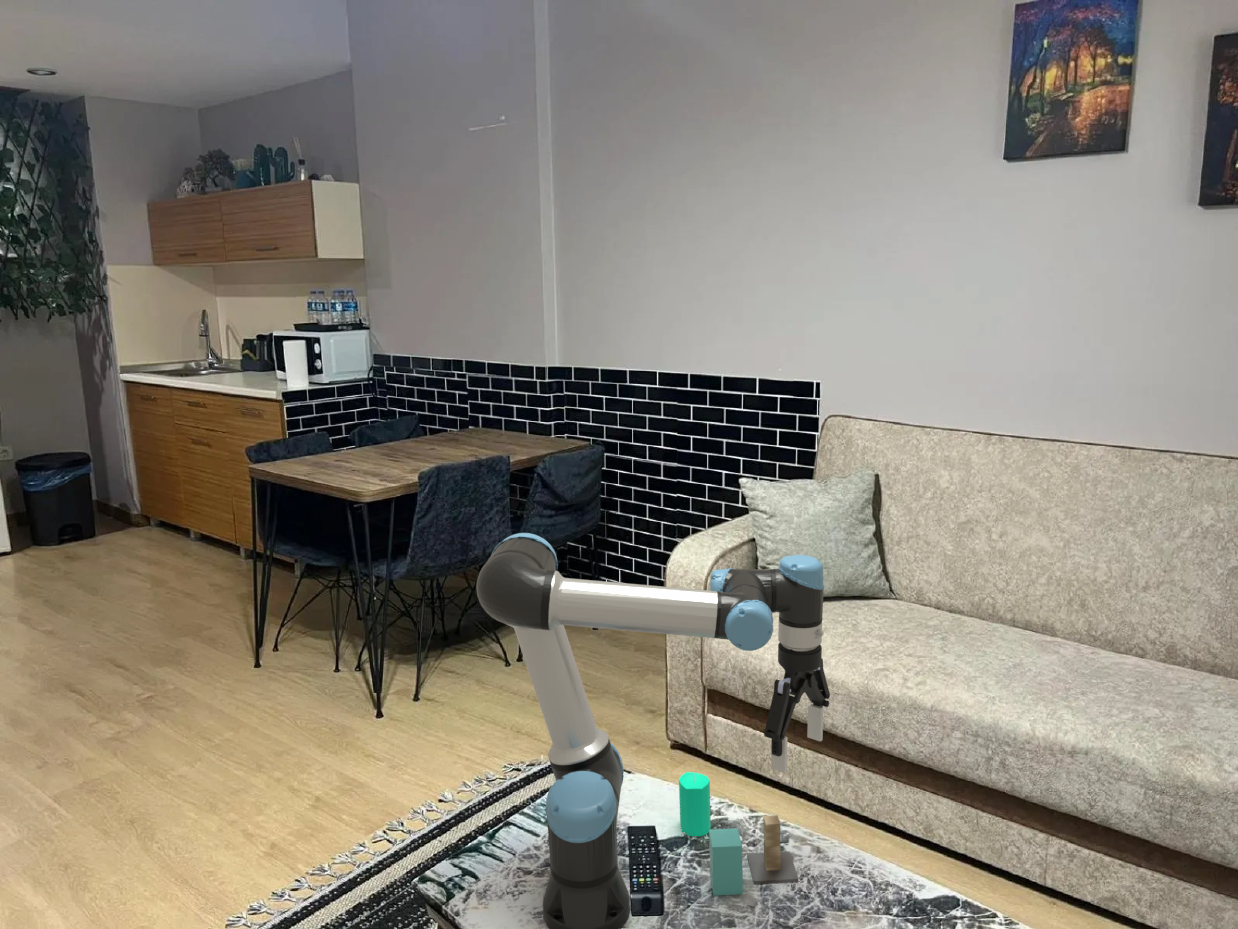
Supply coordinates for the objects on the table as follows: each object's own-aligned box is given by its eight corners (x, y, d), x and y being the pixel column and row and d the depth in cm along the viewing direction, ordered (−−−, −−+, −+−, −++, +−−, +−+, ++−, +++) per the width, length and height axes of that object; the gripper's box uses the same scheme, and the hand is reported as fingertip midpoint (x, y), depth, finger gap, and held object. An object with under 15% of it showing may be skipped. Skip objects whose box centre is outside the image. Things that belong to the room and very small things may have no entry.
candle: (675, 824, 184) (673, 769, 181) (701, 816, 186) (699, 762, 183) (689, 840, 178) (688, 784, 176) (716, 831, 181) (715, 776, 178)
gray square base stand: (754, 884, 165) (753, 834, 163) (747, 856, 173) (746, 808, 170) (798, 882, 165) (798, 832, 163) (789, 854, 173) (789, 806, 171)
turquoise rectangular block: (713, 895, 162) (712, 847, 160) (710, 876, 167) (709, 829, 165) (742, 894, 162) (742, 846, 160) (738, 875, 167) (737, 828, 165)
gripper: (784, 673, 149) (782, 791, 153) (850, 626, 168) (847, 732, 172) (744, 662, 154) (743, 777, 158) (813, 617, 173) (810, 721, 177)
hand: (797, 754), depth 165 cm, fingers open, 13 cm apart
